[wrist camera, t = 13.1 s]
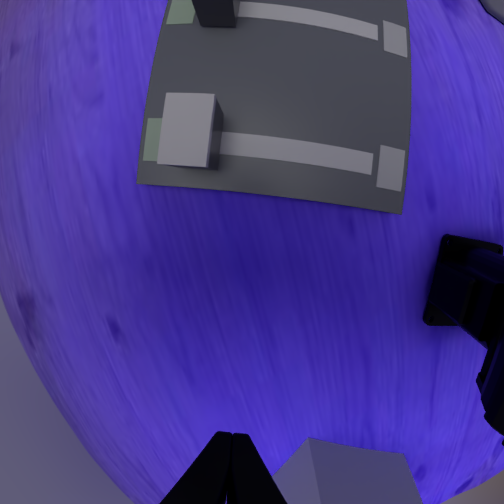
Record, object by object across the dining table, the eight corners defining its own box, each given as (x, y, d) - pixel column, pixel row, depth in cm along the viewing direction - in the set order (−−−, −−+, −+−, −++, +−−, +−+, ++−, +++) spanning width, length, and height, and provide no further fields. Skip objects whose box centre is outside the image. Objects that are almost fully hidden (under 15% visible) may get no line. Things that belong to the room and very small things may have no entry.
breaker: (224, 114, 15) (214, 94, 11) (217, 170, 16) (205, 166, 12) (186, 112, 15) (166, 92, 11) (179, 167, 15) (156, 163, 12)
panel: (390, -49, 13) (396, -59, 11) (391, 211, 18) (402, 214, 16) (201, -76, 13) (198, -87, 11) (145, 183, 17) (135, 183, 16)
